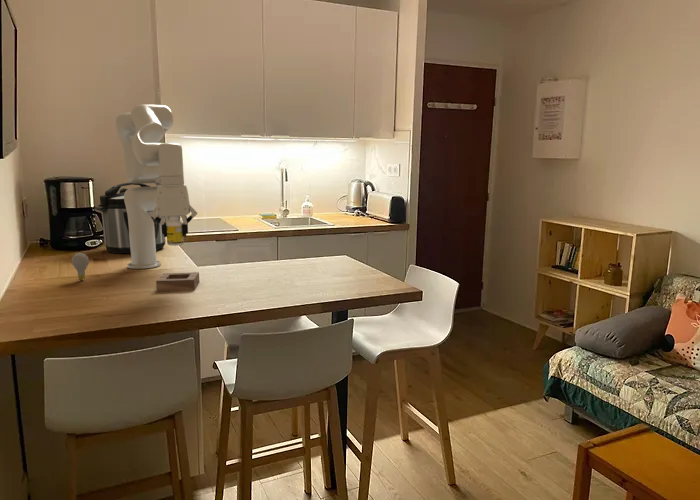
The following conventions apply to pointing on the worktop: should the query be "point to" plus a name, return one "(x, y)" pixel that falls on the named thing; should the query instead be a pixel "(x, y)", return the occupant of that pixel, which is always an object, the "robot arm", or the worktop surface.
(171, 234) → the supplement bottle
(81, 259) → the light bulb
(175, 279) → the socket block
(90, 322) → the worktop surface
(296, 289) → the worktop surface
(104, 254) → the worktop surface
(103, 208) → the pressure cooker
